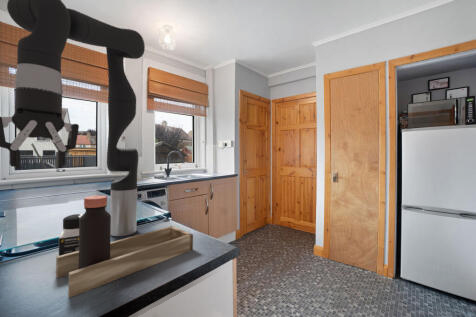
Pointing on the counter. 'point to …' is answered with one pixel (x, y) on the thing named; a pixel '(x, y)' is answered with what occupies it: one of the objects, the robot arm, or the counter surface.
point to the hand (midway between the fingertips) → (39, 168)
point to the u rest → (124, 258)
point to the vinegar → (94, 232)
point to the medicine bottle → (69, 235)
